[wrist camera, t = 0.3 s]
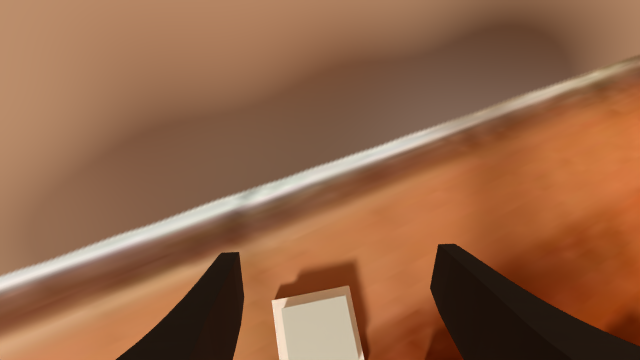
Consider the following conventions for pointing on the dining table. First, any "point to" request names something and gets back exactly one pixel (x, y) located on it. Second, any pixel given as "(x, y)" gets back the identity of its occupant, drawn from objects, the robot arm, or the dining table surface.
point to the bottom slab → (306, 299)
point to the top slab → (319, 330)
